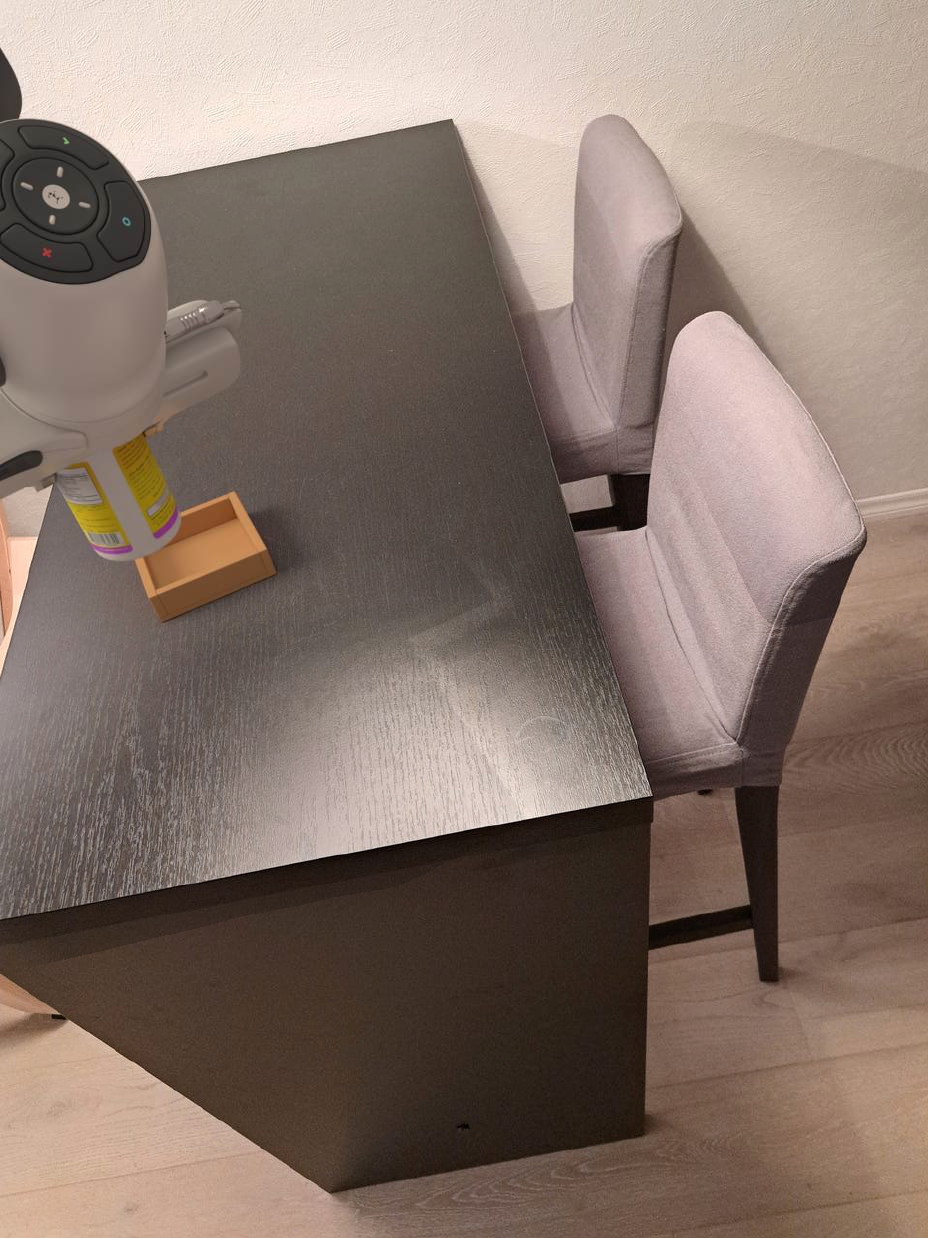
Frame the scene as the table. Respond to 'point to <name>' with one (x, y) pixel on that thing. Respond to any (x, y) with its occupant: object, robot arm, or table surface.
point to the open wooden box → (205, 558)
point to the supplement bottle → (121, 501)
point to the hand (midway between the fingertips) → (94, 451)
